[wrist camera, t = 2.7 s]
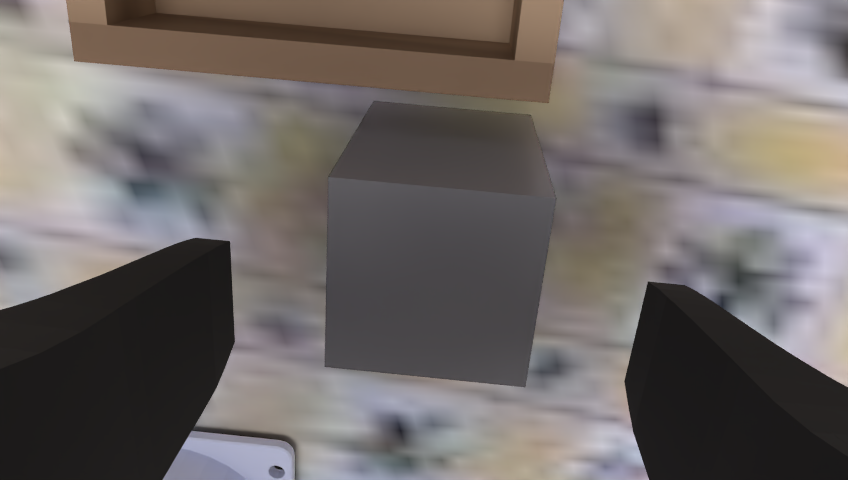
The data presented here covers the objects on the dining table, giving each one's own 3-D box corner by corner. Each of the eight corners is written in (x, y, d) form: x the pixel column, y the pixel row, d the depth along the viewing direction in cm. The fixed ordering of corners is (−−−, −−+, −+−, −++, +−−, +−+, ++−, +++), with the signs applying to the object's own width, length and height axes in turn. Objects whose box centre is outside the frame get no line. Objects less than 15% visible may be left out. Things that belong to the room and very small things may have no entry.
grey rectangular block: (510, 256, 19) (525, 387, 14) (367, 243, 19) (324, 366, 14) (530, 115, 17) (556, 198, 12) (373, 101, 18) (327, 176, 12)
